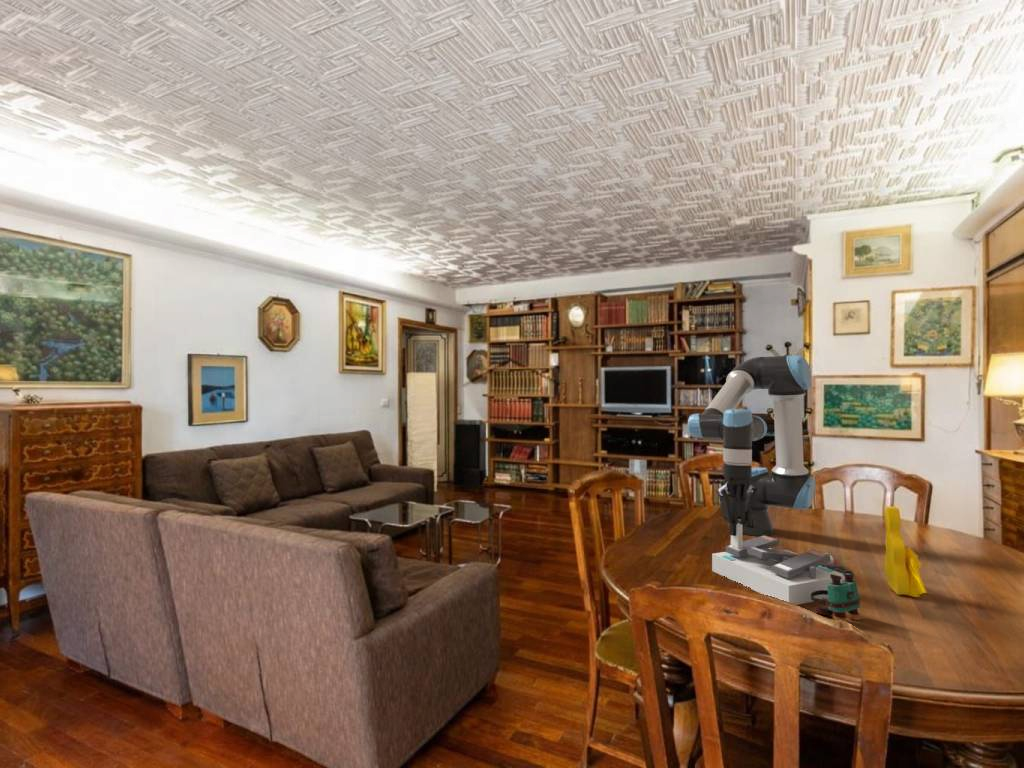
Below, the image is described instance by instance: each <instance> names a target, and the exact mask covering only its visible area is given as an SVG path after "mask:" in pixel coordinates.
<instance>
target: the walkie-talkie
mask: <svg viewBox="0 0 1024 768" xmlns="http://www.w3.org/2000/svg"><path fill="white" fill-rule="evenodd" d="M824 553H825V554H828V555H830V559H831V561H830V562H828V563H825V564H823V565H820V566H822V567H825V568H828V569H831V570H834V571H836V572H839V573H842V574H843V572H844V571H846V570H845V567H844V565H843V564H842V563H841V562H840V561H839V560H838V559H837V557H836V556H834V555H832V554H831V553H827V552H824Z"/></svg>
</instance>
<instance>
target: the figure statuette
mask: <svg viewBox="0 0 1024 768" xmlns="http://www.w3.org/2000/svg"><path fill="white" fill-rule="evenodd" d="M884 523H885V539H884V541H885V543H884V545H885V559H884V567H883V568H884V572H885V575H886V579H887V582H888V583H887V584H888V587H889V588H890V589H891V590H892V591H893V592H894V593H895V594H896V595H899V596H901V595H903V596H908V597H909V596H910V597H913V598H920V596H921V595H927V594H928V592H927V590H926V587H925V585H924V581H923V579H922V577H921V572H920V568H921V566H922V562H921V561H919V557H920V556H919V555H918V554H916V553H915V552H914V550H913V549H912V548H911V547H909V546H908V545H906V546H905V544H904V540H903V537H902V533H901V526H902V525H901V523H902V520H901V514H900V509H899V507H897V506H884Z"/></svg>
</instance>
